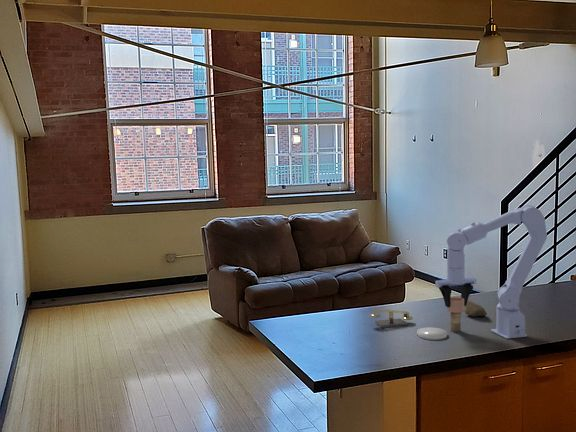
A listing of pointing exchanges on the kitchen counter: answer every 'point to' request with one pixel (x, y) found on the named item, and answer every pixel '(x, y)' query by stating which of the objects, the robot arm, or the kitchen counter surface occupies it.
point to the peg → (455, 322)
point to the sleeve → (456, 305)
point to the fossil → (474, 309)
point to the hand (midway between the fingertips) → (455, 305)
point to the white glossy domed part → (432, 333)
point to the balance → (391, 318)
